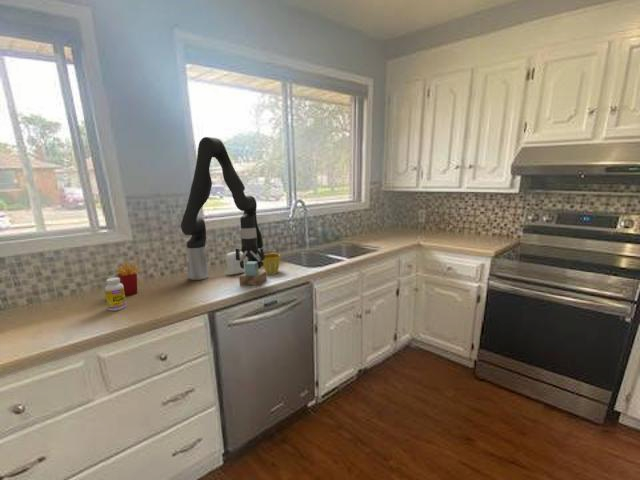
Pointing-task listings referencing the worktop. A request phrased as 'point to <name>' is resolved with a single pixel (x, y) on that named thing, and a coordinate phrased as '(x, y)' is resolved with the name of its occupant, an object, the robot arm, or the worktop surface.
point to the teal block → (251, 268)
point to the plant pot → (271, 263)
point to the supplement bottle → (115, 294)
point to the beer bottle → (259, 241)
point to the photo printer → (234, 264)
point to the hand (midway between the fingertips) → (251, 268)
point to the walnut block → (253, 279)
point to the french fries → (128, 279)
